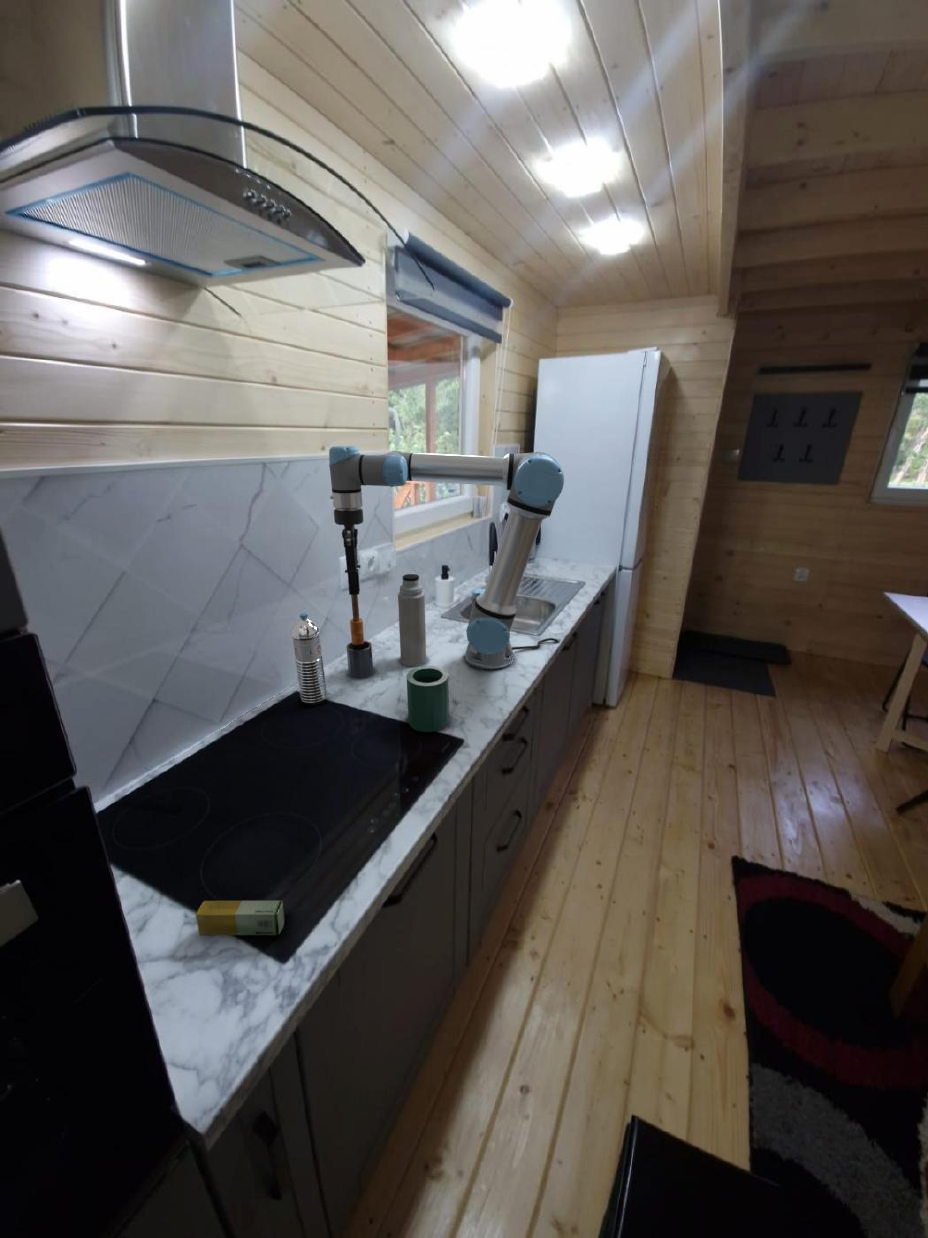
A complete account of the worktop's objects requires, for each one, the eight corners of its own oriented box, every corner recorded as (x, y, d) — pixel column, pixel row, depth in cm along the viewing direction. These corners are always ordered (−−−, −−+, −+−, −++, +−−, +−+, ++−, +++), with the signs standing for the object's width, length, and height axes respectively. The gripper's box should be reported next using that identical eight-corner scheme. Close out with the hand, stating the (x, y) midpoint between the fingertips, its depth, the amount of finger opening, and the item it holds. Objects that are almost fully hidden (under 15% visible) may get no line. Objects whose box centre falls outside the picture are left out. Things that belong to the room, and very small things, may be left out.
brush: (364, 639, 147) (358, 557, 137) (364, 644, 144) (357, 561, 134) (352, 640, 146) (345, 558, 137) (351, 645, 143) (344, 561, 134)
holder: (373, 666, 153) (371, 639, 149) (373, 677, 146) (371, 650, 142) (349, 667, 152) (347, 641, 148) (348, 679, 145) (345, 651, 141)
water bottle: (319, 708, 131) (309, 620, 121) (296, 705, 132) (283, 618, 122) (331, 694, 137) (322, 610, 127) (308, 692, 138) (297, 608, 128)
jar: (446, 708, 131) (445, 664, 126) (450, 730, 122) (450, 684, 117) (407, 711, 130) (405, 667, 125) (409, 733, 120) (407, 687, 115)
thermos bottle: (398, 656, 159) (394, 573, 148) (422, 653, 161) (420, 570, 150) (403, 667, 152) (399, 580, 141) (428, 664, 154) (427, 578, 144)
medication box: (286, 920, 76) (284, 899, 74) (280, 936, 73) (278, 914, 72) (206, 920, 75) (202, 899, 74) (197, 936, 73) (194, 914, 71)
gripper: (336, 503, 136) (343, 584, 145) (330, 513, 123) (338, 602, 132) (363, 503, 137) (368, 584, 146) (361, 513, 124) (367, 601, 133)
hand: (354, 592), depth 139 cm, fingers closed on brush, 2 cm apart
